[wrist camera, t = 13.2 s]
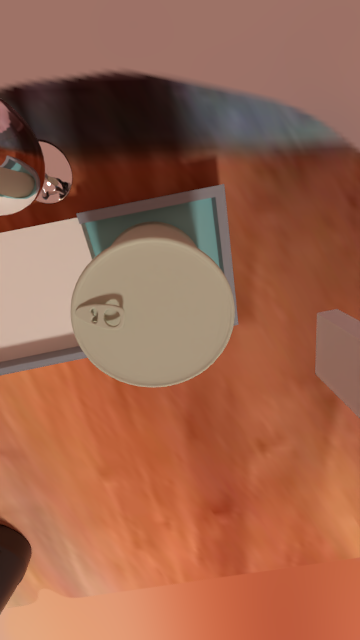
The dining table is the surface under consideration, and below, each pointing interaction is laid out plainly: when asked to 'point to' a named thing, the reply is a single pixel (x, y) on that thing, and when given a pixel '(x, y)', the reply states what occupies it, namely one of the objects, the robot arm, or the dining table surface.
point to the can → (152, 307)
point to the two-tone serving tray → (72, 258)
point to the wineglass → (28, 166)
